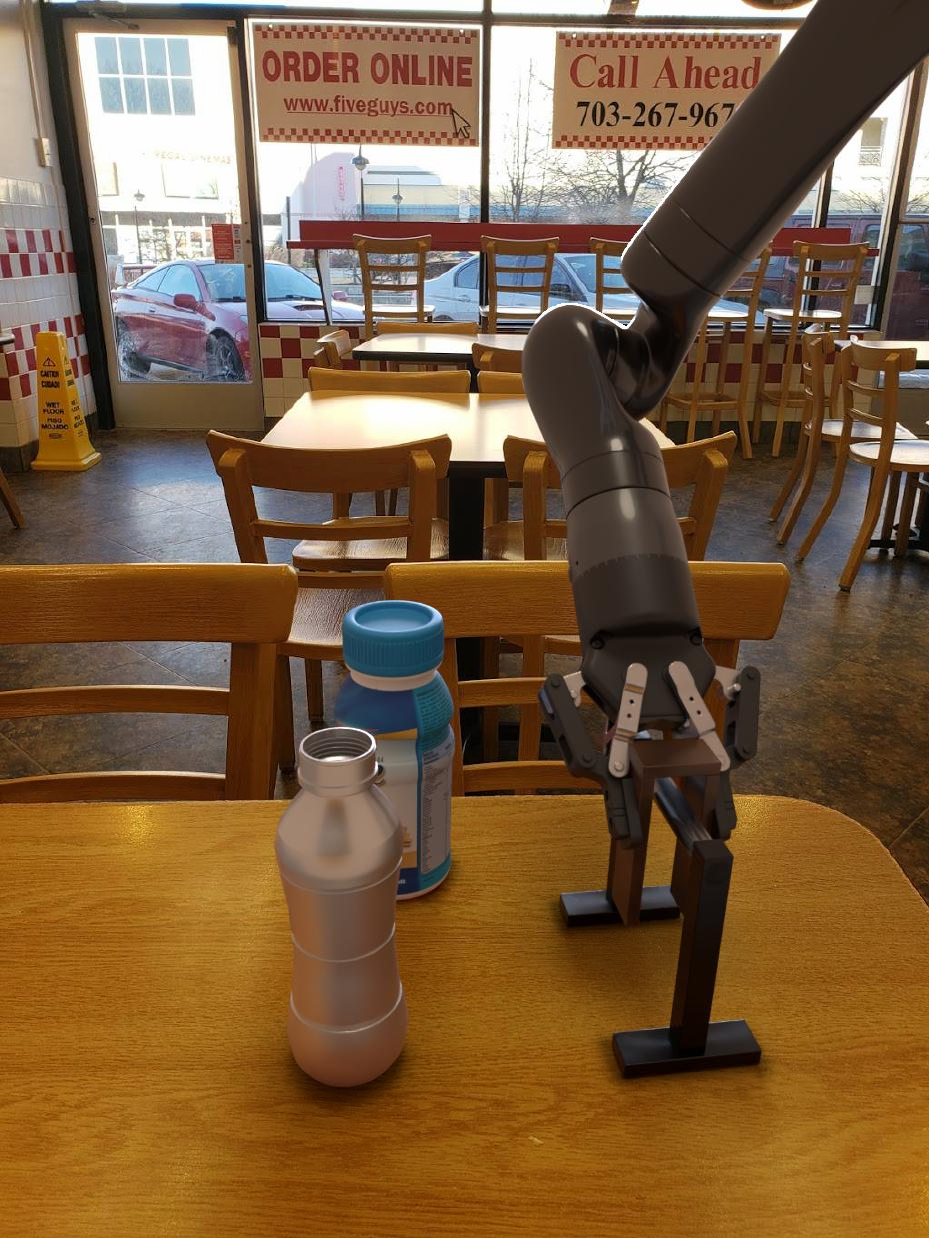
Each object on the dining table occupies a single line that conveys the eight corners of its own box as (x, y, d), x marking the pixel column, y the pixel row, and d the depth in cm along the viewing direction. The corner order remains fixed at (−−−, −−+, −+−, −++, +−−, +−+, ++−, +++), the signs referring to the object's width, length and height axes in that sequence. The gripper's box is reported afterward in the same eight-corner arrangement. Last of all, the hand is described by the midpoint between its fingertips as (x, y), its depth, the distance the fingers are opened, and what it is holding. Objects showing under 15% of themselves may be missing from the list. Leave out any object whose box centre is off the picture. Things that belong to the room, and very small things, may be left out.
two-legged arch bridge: (681, 890, 59) (701, 736, 55) (699, 922, 57) (722, 762, 53) (611, 895, 59) (626, 740, 55) (625, 928, 56) (643, 767, 52)
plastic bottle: (424, 1083, 51) (425, 763, 44) (302, 1121, 49) (282, 789, 42) (389, 1001, 57) (385, 705, 50) (277, 1031, 55) (256, 725, 47)
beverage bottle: (472, 887, 67) (478, 628, 60) (360, 918, 64) (353, 648, 57) (425, 825, 74) (426, 588, 67) (322, 851, 71) (312, 603, 64)
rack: (668, 896, 67) (689, 720, 62) (760, 1064, 53) (796, 856, 48) (558, 905, 66) (571, 727, 61) (623, 1079, 52) (646, 867, 47)
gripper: (531, 551, 56) (569, 841, 49) (758, 546, 58) (824, 823, 51) (510, 603, 63) (541, 864, 56) (714, 597, 65) (767, 848, 58)
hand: (676, 843), depth 54 cm, fingers closed on two-legged arch bridge, 4 cm apart
